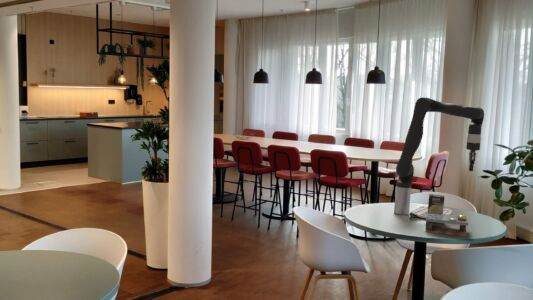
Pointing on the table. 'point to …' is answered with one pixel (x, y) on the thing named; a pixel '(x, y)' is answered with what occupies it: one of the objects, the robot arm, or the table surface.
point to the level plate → (447, 218)
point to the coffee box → (436, 204)
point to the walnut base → (446, 229)
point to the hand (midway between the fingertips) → (470, 170)
